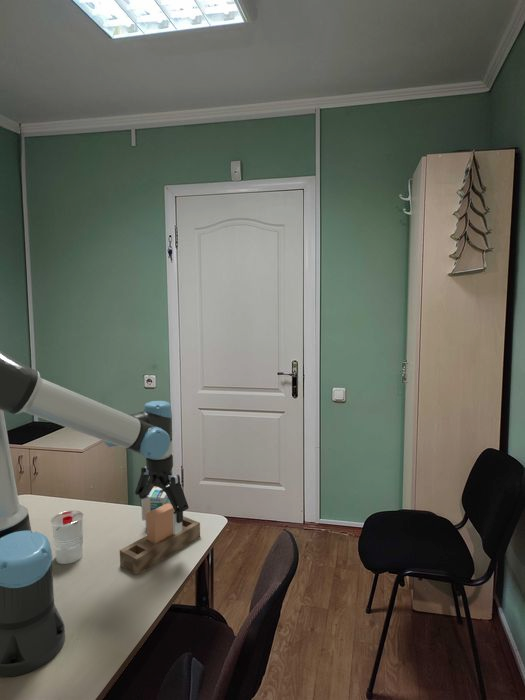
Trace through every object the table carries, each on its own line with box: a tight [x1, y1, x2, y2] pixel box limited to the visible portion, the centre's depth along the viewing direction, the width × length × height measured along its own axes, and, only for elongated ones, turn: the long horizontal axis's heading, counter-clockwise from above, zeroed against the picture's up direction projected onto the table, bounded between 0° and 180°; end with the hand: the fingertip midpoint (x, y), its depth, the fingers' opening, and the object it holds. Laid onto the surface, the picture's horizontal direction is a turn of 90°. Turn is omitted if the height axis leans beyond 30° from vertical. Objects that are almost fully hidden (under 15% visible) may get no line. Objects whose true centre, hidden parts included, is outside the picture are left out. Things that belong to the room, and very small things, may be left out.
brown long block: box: [119, 515, 201, 576], centre depth 131 cm, size 24×7×4 cm, turn 144°
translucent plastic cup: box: [50, 510, 84, 565], centre depth 128 cm, size 10×8×12 cm
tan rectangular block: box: [146, 503, 175, 544], centre depth 131 cm, size 8×4×12 cm, turn 144°
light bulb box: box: [144, 484, 172, 530], centre depth 148 cm, size 11×7×11 cm, turn 179°
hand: (161, 525), depth 131 cm, fingers open, 13 cm apart
